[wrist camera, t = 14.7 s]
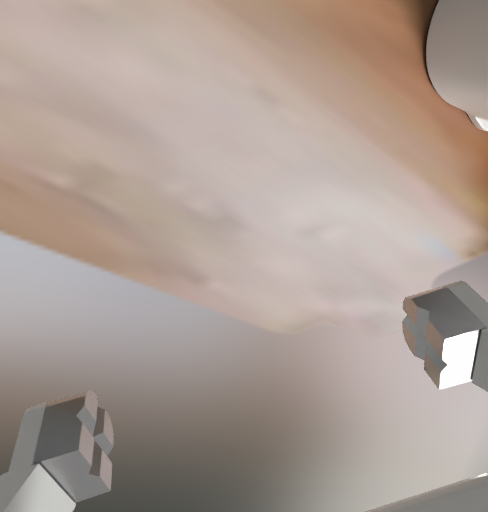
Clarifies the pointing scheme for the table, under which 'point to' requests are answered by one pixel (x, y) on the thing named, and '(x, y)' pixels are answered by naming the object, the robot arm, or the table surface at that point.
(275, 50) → the table surface
